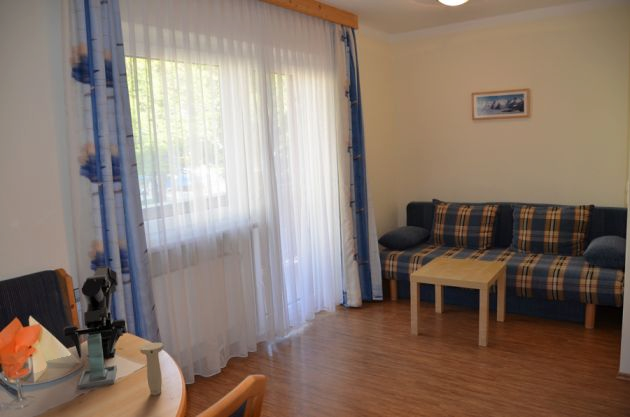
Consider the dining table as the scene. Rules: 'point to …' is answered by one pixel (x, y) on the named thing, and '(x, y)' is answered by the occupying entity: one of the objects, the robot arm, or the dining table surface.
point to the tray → (109, 380)
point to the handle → (153, 366)
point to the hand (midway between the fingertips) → (95, 355)
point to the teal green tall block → (96, 358)
